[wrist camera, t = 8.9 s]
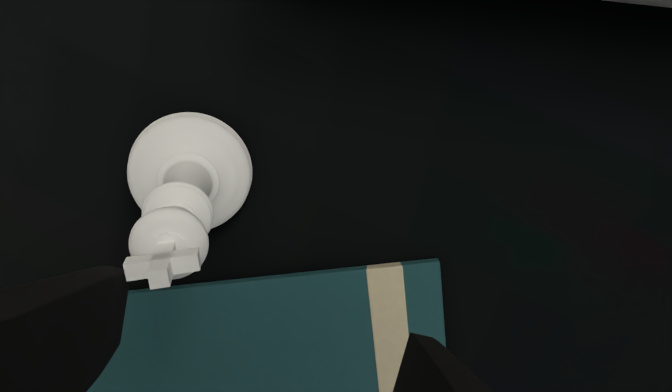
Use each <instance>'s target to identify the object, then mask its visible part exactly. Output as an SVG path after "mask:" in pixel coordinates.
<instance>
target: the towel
mask: <svg viewBox="0 0 672 392" xmlns="http://www.w3.org/2000/svg"><path fill="white" fill-rule="evenodd" d="M410 332H411V333H415V334H420V335H424V336H429V337H433V338H435V339H436V340H437V341H439V342H440V343H441V344H442V345H443V346H445V347H446V341H445V327H444V314H443V300H442V286H441V272H440V262H439V260H438V258H433V259H424V260H414V261H404V262H395V263H385V264H376V265H366V266H357V267H347V268H338V269H328V270H319V271H309V272H300V273H290V274H281V275H271V276H262V277H252V278H242V279H233V280H223V281H214V282H204V283H195V284H185V285H176V286H170V287H165V288H158V289H152V290H150V288H147V289H138V290H129V291H128V297H127V303H126V310H125V316H124V323H123V329H122V336H121V342H120V345H119V346H118V348H117V350H116V351H115V353H114V355H113V356H112V358H111V360H110V361H109V363H108V364H107V366H106V367H105V369H104V370H103V372H102V373H101V375H100V376H99V377H98V379H97V380H96V381H95V382H94V384H93V385H92V386H91V387H90V388H89V390H88V391H87V392H393V389H394V385H395V382H396V379H397V375H398V372H399V368H400V365H401V361H402V358H403V354H404V351H405V348H406V344H407V341H408V337H409V334H410Z"/></svg>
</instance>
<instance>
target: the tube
mask: <svg viewBox="0 0 672 392" xmlns="http://www.w3.org/2000/svg"><path fill="white" fill-rule="evenodd" d="M603 1H613V2H622V3H631V4H641V5H650V6H659V7H669V8H672V0H603Z"/></svg>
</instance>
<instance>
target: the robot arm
mask: <svg viewBox="0 0 672 392" xmlns="http://www.w3.org/2000/svg"><path fill="white" fill-rule="evenodd" d="M129 284H130V281H127V282H126V277H125V273H124V269H121V268H117V267H112V266H108V265H107V266H98V267H93V268H89V269H84V270H80V271H76V272H72V273H68V274H64V275H60V276H56V277H52V278H48V279H44V280H40V281H36V282H31V283H26V284H22V285H17V286H13V287H8V288H3V289H0V392H87V391H88V390H89V388H90V387H91V386H92V385H93V384H94V382H95V381H96V380H97V379H98V377H99V376H100V375H101V373H102V372H103V370H104V369H105V367H106V366H107V364H108V363H109V361H110V360H111V358H112V356H113V355H114V353H115V351H116V350H117V348H118V346H119V345H120V342H121V336H122V329H123V323H124V316H125V310H126V303H127V297H128V291H129ZM393 392H494V391H493V390H491V389H490V388H489V387H488V386H487V385H486V384H485V383H483V382H482V381H481V380H480V379H479V378H478V377H477V376H476V375H475V374H473V373H472V372H471V371H470V370H469V369H468V368H467V367H466V366H465V365H464V364H463V363H462V362H461V361H460V360H459V359H457V358H456V357H455V356H454V355H453V354H452V353H451V352H450V351H449V350H448V349H447V348H446V347H445V346H443V345H442V344H441V343H440V342H439V341H437V340H436V339H435V338H433V337H429V336H424V335H420V334H415V333H411V332H410V334H409V337H408V341H407V344H406V348H405V351H404V354H403V358H402V361H401V365H400V368H399V372H398V375H397V379H396V382H395V385H394V389H393Z"/></svg>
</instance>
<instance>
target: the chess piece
mask: <svg viewBox="0 0 672 392" xmlns="http://www.w3.org/2000/svg"><path fill="white" fill-rule="evenodd" d="M127 179H128V184H129V188H130V191H131V194H132V196H133V198H134V200H135V201H136V203H137V204H138V206H139V207H140V208H141V210H142V217H141V218H140V219H139V220H138V221H137V222H136V223H135V225H134V226H133V228H132V230H131V233H130V236H129V251H130V254H131V257H126V259H125V261H124V263H123V268H124V273H125V277H126V282H127V281H133V280H140V279H147V278H148V281H149V286H150V290H152V289H158V288H165V287H170V285H171V281H172V279H179V278H182V277H185V276H187V275H189V274H191V273H193V272H195V271H200V268H201V264H202V263H203V262H204V260H205V258H206V256H207V253H208V248H209V239H208V233H209V231H210V229H211V228H214V227H216V226H219V225H221V224H222V223H224V222H226V221H227V220H229V219H230V218H231V217H232V216H233V215H234V214H235V213H236V212H237V211H238V210H239V209H240V207H241V206H242V205H243V203H244V201H245V199H246V197H247V195H248V192H249V190H250V186H251V182H252V163H251V158H250V155H249V152H248V150H247V148H246V146H245V144H244V142H243V141H242V139H241V138H240V137H239V135H238V134H237V133H236V132H235V131H234V130H233V129H232V128H231V127H229V126H228V125H227V124H225V123H224V122H222V121H220V120H219V119H217V118H214V117H212V116H209V115H206V114H201V113H195V112H181V113H175V114H171V115H167V116H165V117H162V118H160V119H158V120H156V121H155V122H153V123H151V124H150V125H149V126H148V127H146V128H145V129H144V130H143V131H142V132H141V134H140V135H139V136H138V138H137V139H136V141H135V142H134V144H133V146H132V149H131V151H130V155H129V159H128V165H127Z"/></svg>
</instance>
